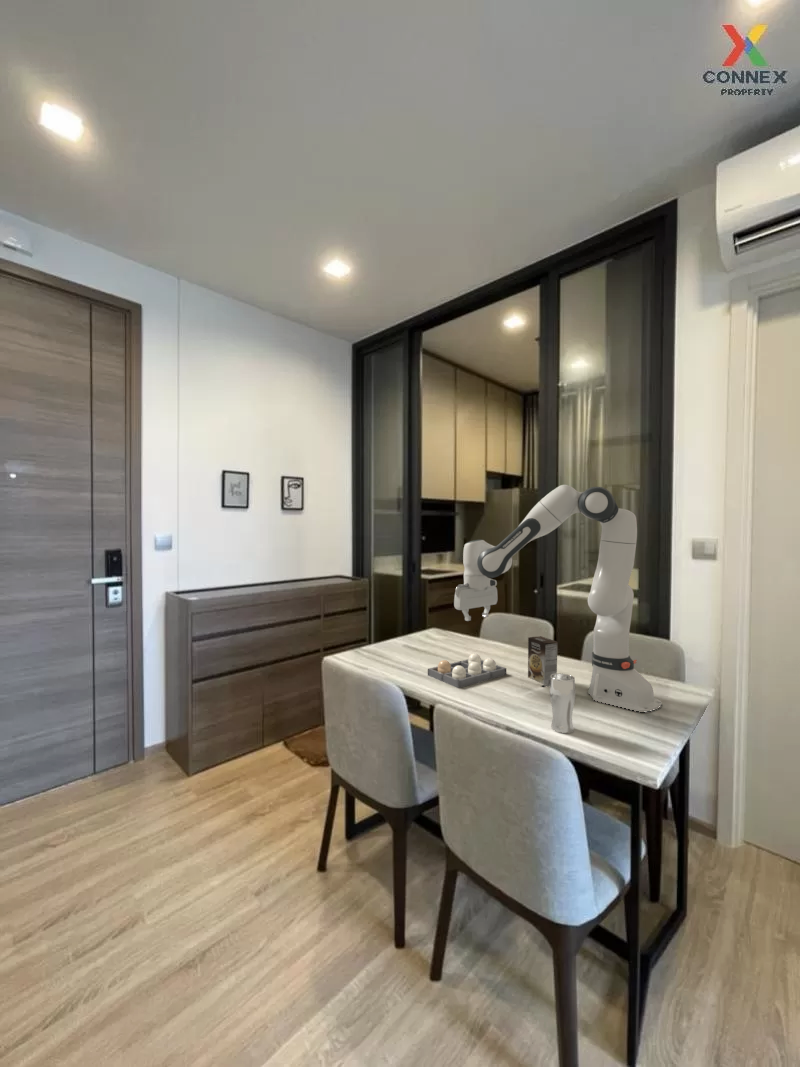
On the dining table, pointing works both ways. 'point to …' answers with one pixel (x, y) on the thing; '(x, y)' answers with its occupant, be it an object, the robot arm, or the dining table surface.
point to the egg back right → (474, 658)
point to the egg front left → (459, 672)
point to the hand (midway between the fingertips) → (476, 618)
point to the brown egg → (444, 667)
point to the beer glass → (562, 701)
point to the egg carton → (469, 678)
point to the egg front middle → (474, 668)
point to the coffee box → (542, 659)
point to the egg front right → (489, 664)
